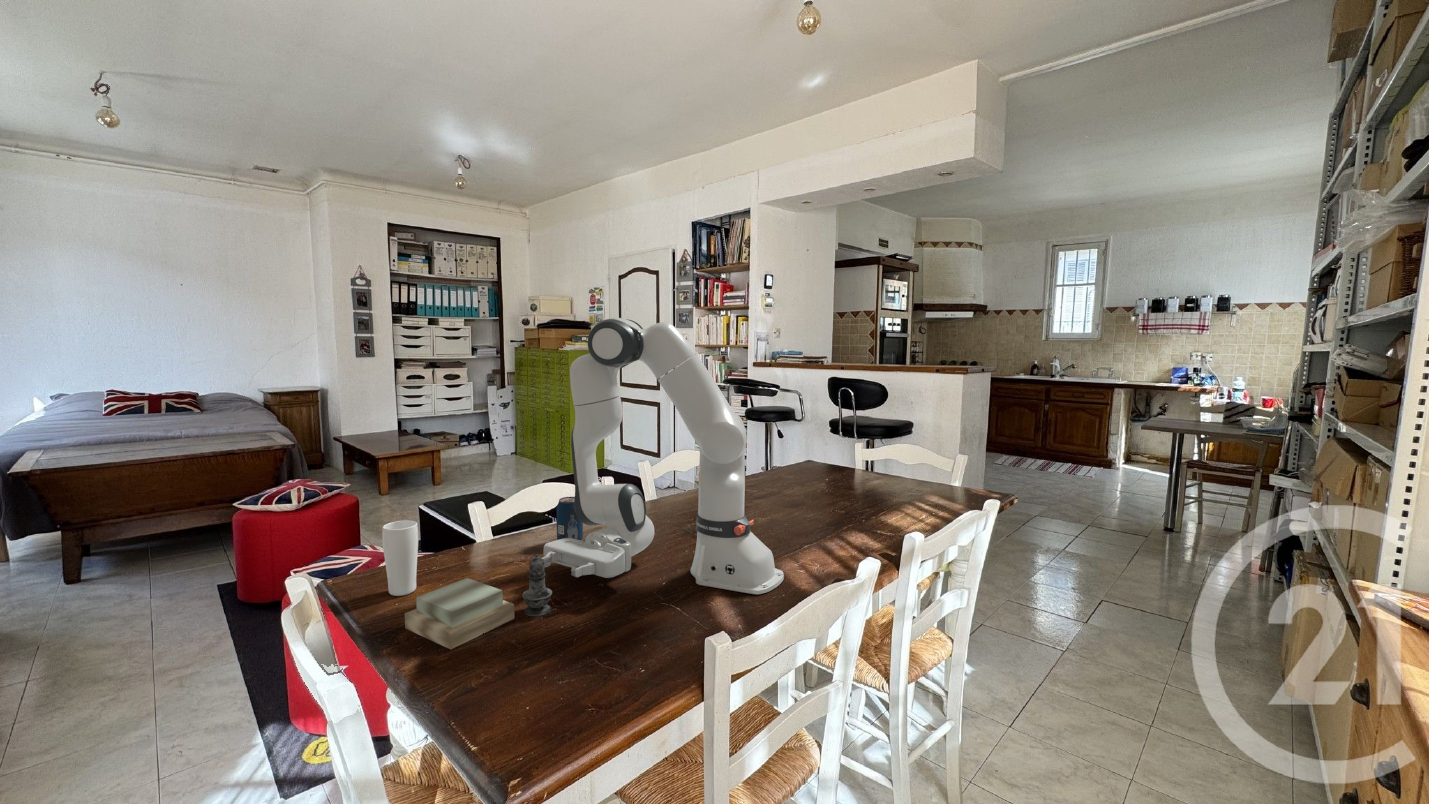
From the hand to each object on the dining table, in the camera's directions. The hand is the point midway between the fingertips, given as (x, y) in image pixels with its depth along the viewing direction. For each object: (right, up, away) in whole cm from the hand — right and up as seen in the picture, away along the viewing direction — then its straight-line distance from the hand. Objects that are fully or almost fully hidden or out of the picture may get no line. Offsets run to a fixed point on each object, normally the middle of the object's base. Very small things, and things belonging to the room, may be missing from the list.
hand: (557, 568), depth 124 cm
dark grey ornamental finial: (-3, -8, -4) cm, 9 cm away
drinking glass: (-35, -6, +3) cm, 35 cm away
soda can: (-6, -3, +36) cm, 37 cm away
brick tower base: (-16, -8, -10) cm, 21 cm away
